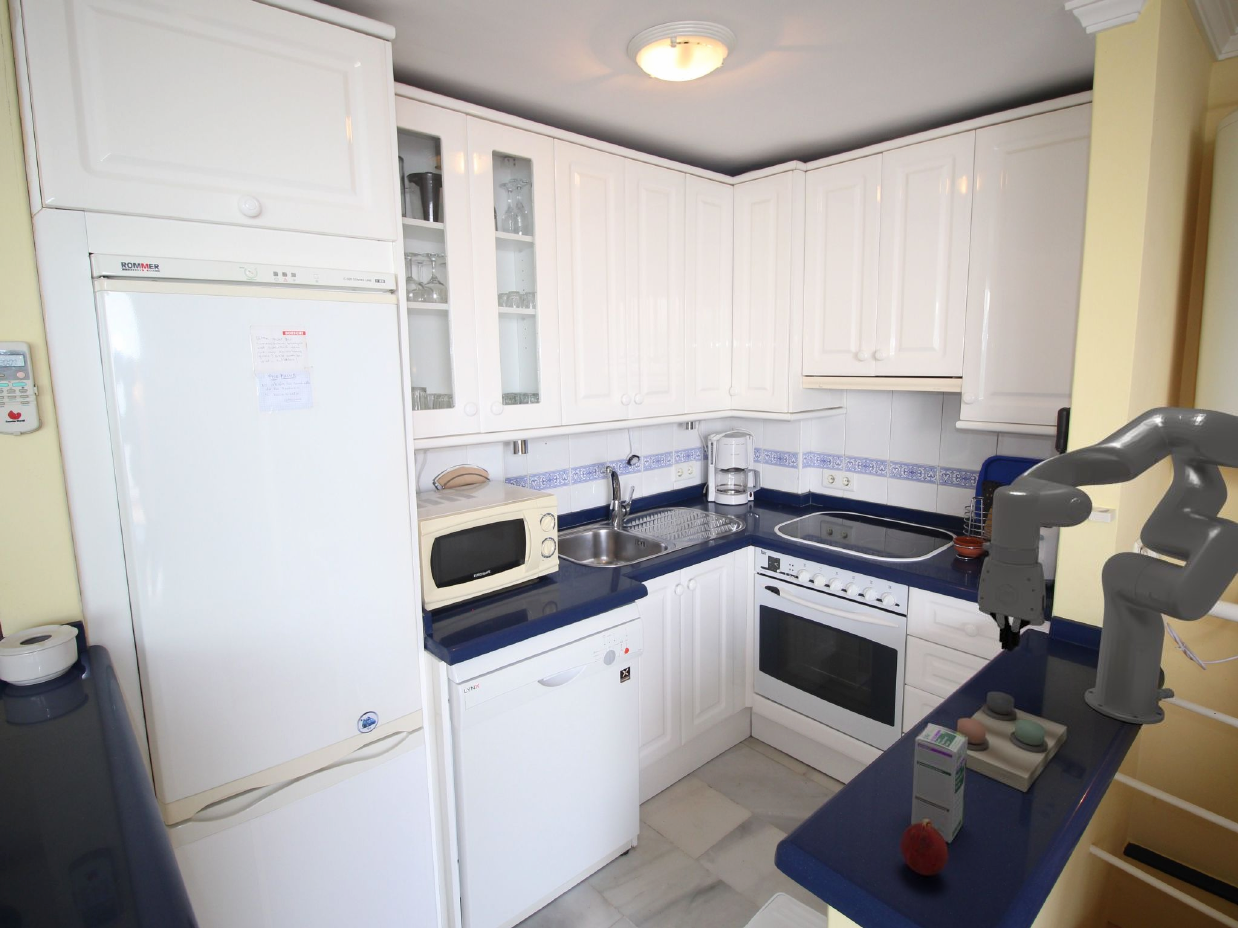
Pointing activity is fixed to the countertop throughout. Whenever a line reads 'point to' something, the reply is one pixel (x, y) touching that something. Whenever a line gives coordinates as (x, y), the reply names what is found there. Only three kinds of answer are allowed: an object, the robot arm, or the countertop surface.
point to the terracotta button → (972, 730)
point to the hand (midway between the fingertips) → (1009, 647)
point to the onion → (924, 848)
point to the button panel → (1012, 748)
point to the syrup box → (939, 779)
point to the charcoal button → (1000, 702)
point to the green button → (1029, 732)
